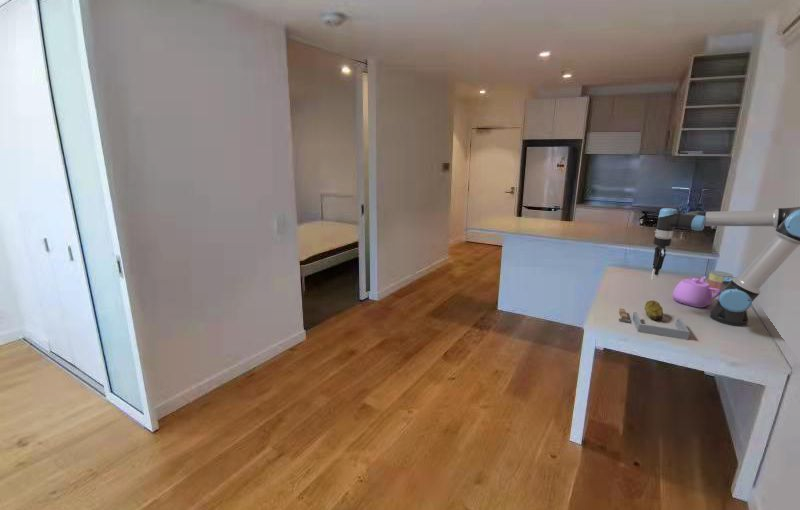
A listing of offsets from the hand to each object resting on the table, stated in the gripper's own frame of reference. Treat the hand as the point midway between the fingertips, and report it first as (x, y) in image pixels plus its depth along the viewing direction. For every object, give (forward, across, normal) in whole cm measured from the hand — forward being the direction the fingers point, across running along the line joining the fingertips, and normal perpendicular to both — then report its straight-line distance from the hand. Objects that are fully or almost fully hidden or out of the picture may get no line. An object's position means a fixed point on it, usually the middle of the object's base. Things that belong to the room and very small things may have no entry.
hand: (654, 279), depth 204 cm
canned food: (+18, -53, +46) cm, 73 cm away
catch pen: (+18, +25, 0) cm, 31 cm away
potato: (+18, +10, 0) cm, 21 cm away
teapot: (+18, -23, +25) cm, 39 cm away
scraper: (+18, +17, -14) cm, 29 cm away
